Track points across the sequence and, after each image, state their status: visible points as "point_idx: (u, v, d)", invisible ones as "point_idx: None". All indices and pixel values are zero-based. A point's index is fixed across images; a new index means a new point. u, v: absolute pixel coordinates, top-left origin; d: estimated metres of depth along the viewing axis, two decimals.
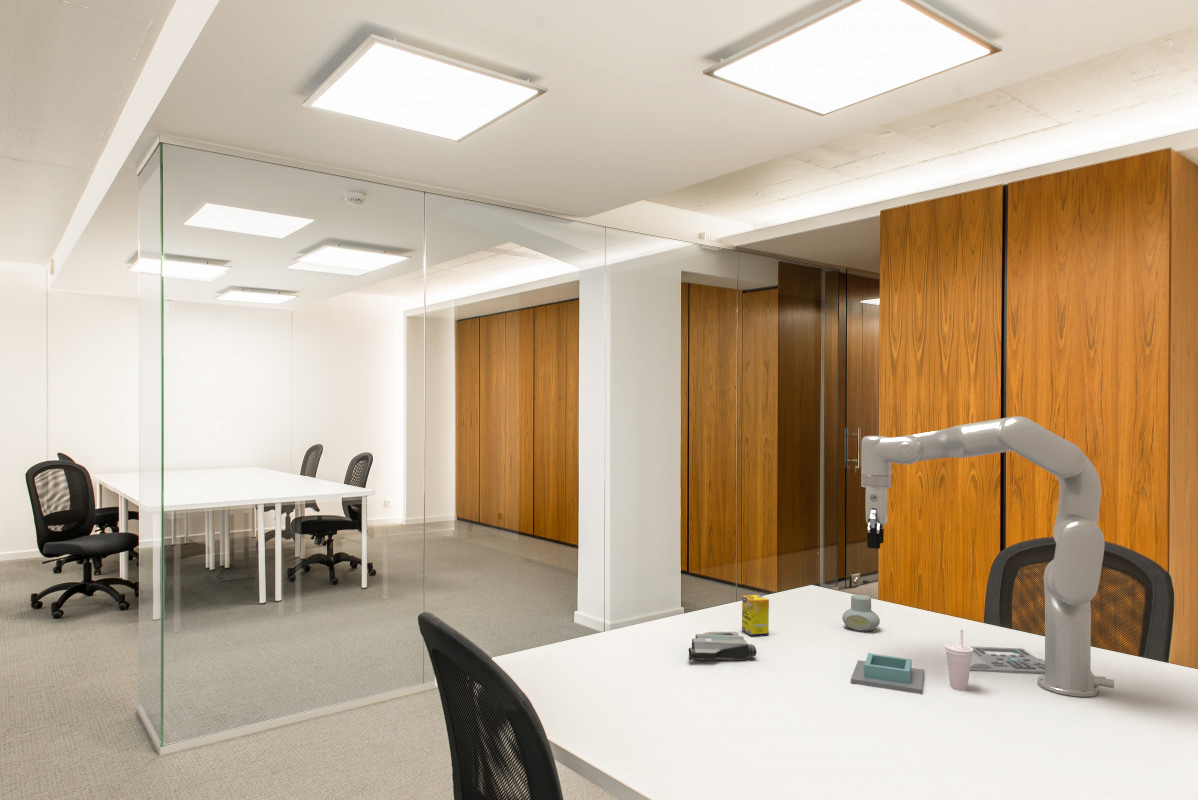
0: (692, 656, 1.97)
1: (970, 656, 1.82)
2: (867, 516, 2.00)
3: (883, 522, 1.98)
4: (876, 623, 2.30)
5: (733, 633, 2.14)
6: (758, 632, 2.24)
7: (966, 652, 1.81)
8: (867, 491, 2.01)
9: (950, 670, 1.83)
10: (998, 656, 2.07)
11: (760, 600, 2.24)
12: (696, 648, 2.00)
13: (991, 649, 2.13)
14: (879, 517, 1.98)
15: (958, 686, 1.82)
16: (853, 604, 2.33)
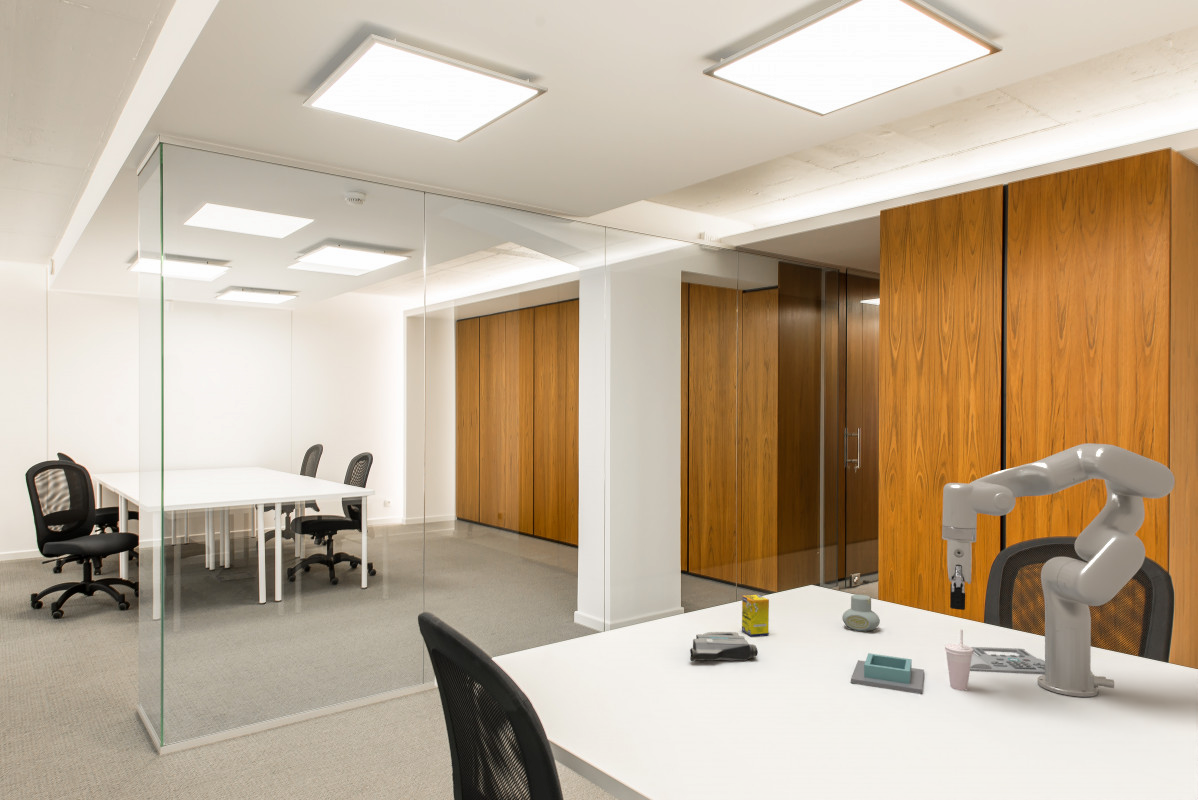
0: (694, 657, 1.97)
1: (970, 656, 1.82)
2: (950, 573, 1.81)
3: (969, 580, 1.79)
4: (876, 623, 2.30)
5: (733, 633, 2.14)
6: (758, 632, 2.24)
7: (966, 652, 1.81)
8: (951, 545, 1.81)
9: (950, 670, 1.83)
10: (998, 656, 2.07)
11: (760, 600, 2.24)
12: (698, 649, 1.99)
13: (991, 649, 2.13)
14: (964, 575, 1.79)
15: (958, 686, 1.82)
16: (853, 604, 2.33)
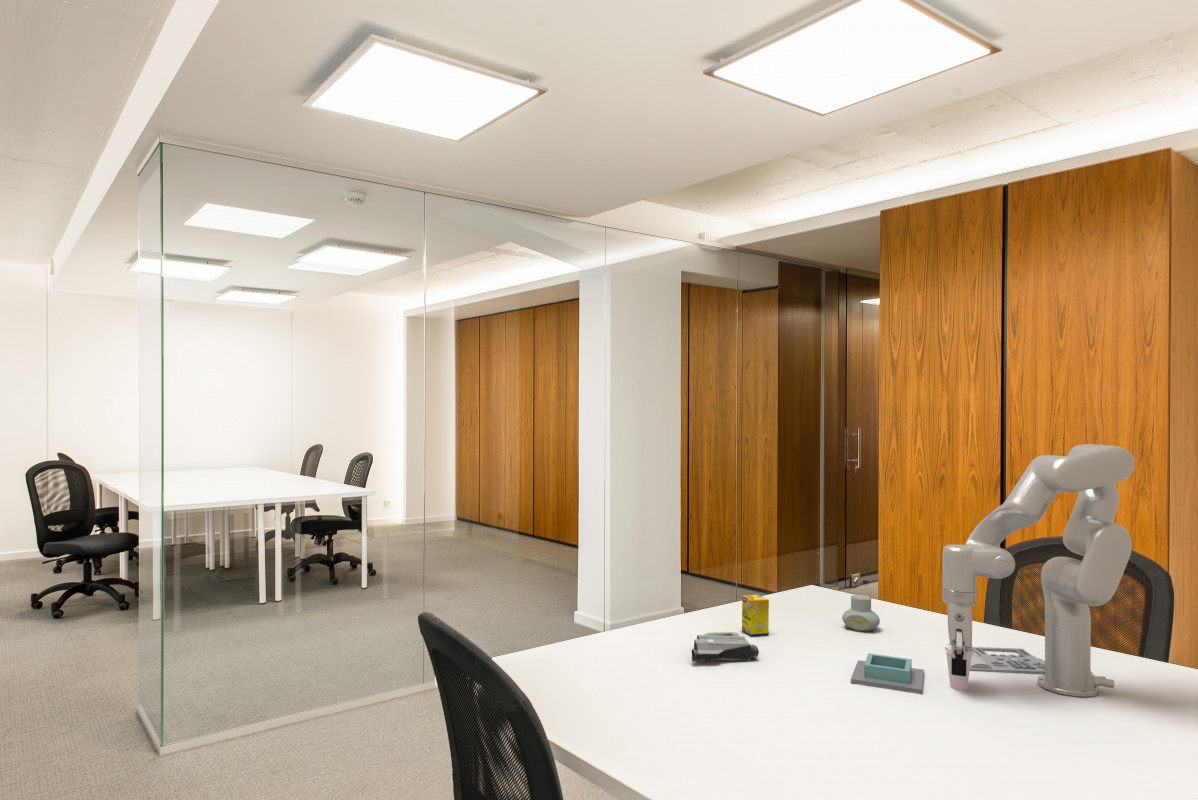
0: (695, 657, 1.96)
1: (970, 656, 1.82)
2: (951, 637, 1.80)
3: (970, 645, 1.79)
4: (876, 623, 2.30)
5: (733, 633, 2.14)
6: (758, 632, 2.24)
7: (966, 652, 1.81)
8: (951, 609, 1.81)
9: (950, 670, 1.83)
10: (998, 656, 2.07)
11: (760, 600, 2.24)
12: (699, 649, 1.99)
13: (991, 649, 2.13)
14: (965, 643, 1.79)
15: (958, 686, 1.82)
16: (853, 604, 2.33)
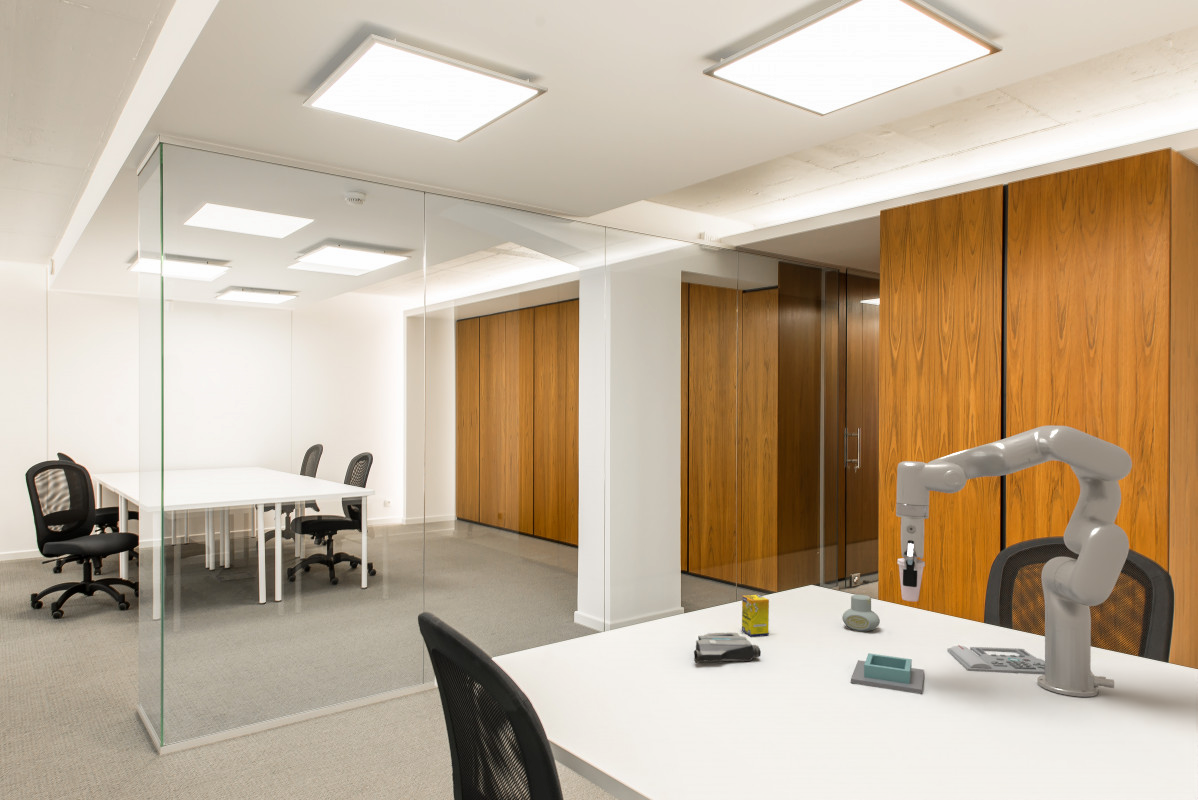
0: (698, 658, 1.95)
1: (921, 568, 1.86)
2: (903, 549, 1.84)
3: (921, 556, 1.83)
4: (876, 623, 2.30)
5: (734, 634, 2.14)
6: (758, 632, 2.24)
7: (917, 564, 1.85)
8: (903, 522, 1.85)
9: (902, 582, 1.88)
10: (998, 656, 2.07)
11: (760, 600, 2.24)
12: (702, 650, 1.98)
13: (991, 649, 2.13)
14: (916, 554, 1.83)
15: (909, 597, 1.86)
16: (853, 604, 2.33)
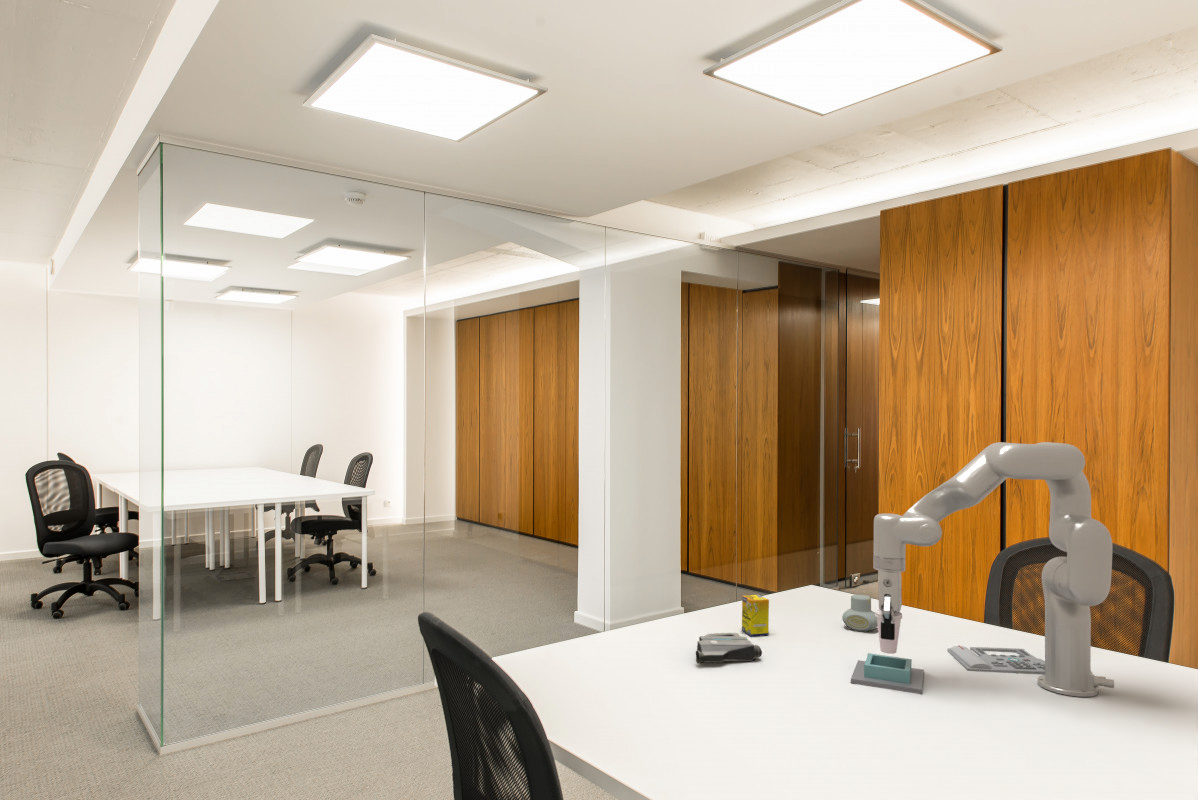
0: (700, 659, 1.95)
1: (899, 621, 1.88)
2: (880, 602, 1.86)
3: (897, 609, 1.85)
4: (876, 623, 2.30)
5: (734, 634, 2.13)
6: (758, 632, 2.24)
7: (894, 617, 1.87)
8: (880, 575, 1.87)
9: (880, 634, 1.89)
10: (998, 656, 2.07)
11: (760, 600, 2.24)
12: (703, 651, 1.98)
13: (991, 649, 2.13)
14: (893, 607, 1.85)
15: (887, 650, 1.88)
16: (853, 604, 2.33)
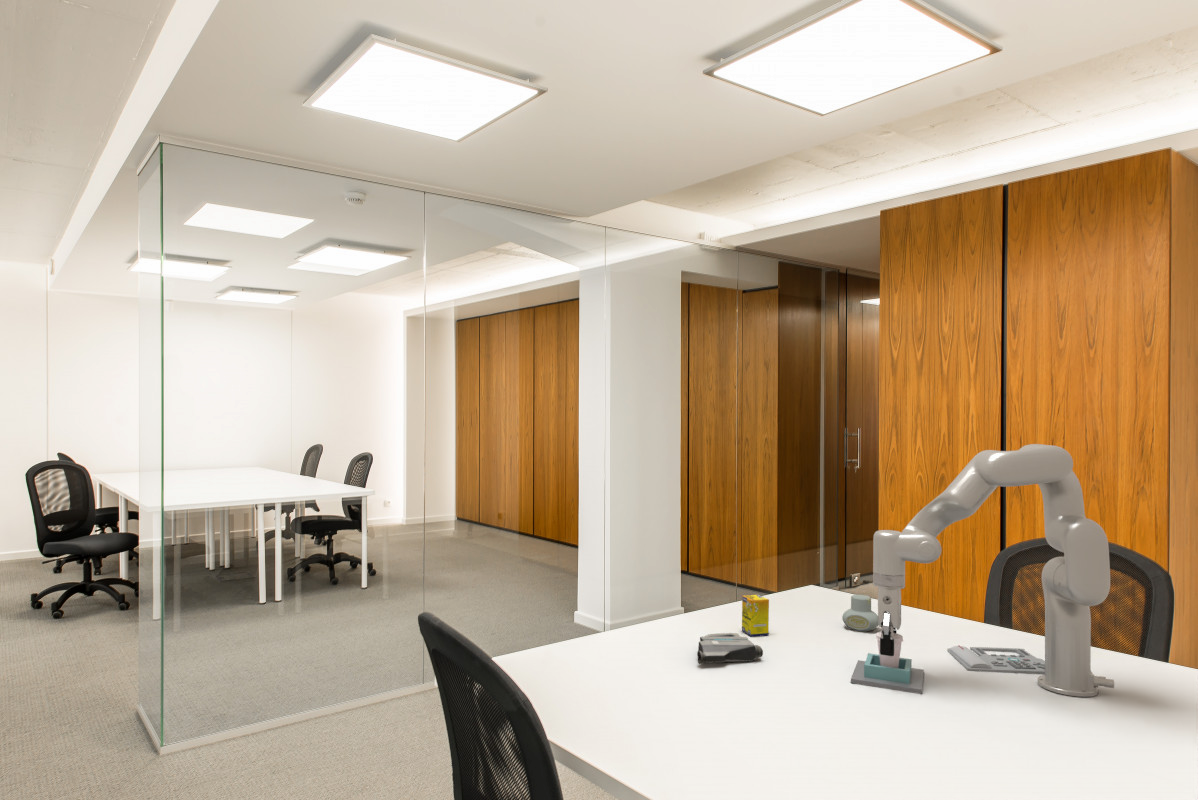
0: (702, 659, 1.94)
1: (899, 643, 1.87)
2: (880, 619, 1.86)
3: (897, 627, 1.84)
4: (876, 623, 2.30)
5: (734, 634, 2.13)
6: (758, 632, 2.24)
7: (895, 639, 1.87)
8: (880, 592, 1.87)
9: (881, 657, 1.89)
10: (998, 656, 2.07)
11: (760, 600, 2.24)
12: (705, 651, 1.97)
13: (991, 649, 2.13)
14: (893, 622, 1.85)
15: None
16: (853, 604, 2.33)
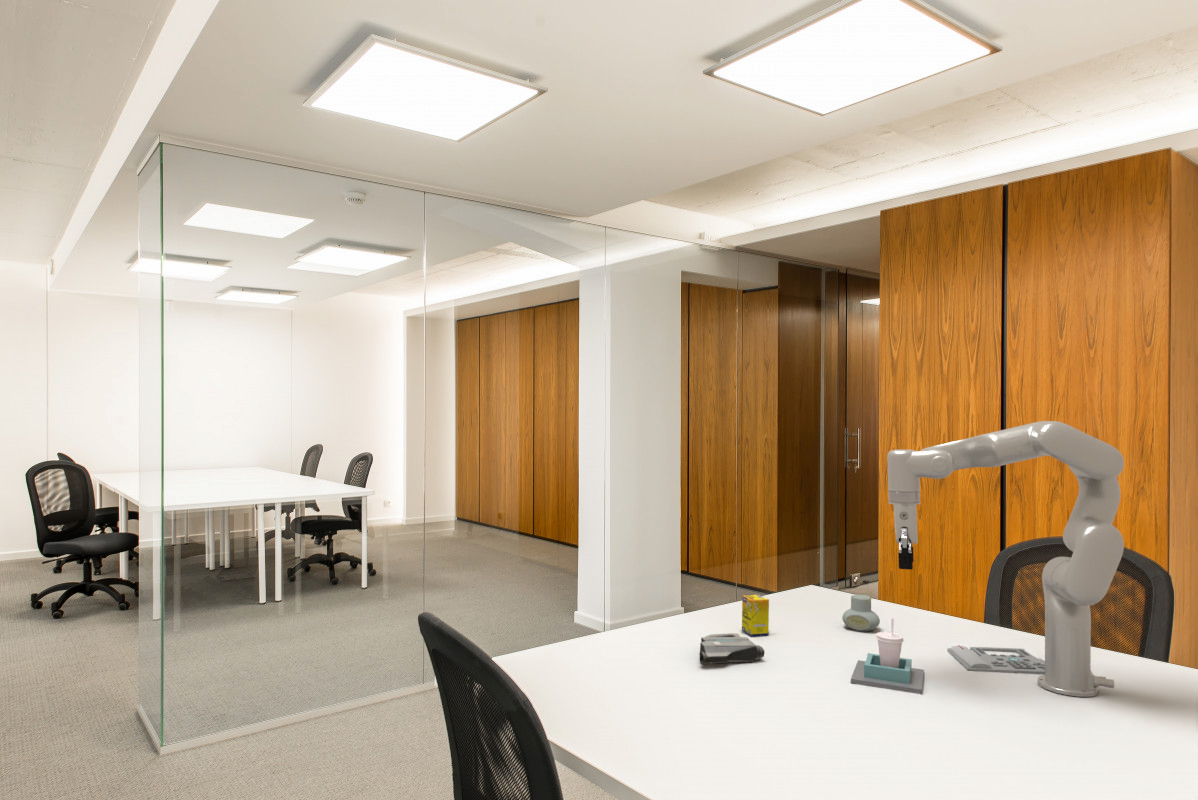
0: (705, 660, 1.94)
1: (900, 644, 1.87)
2: (897, 535, 1.89)
3: (915, 541, 1.87)
4: (876, 623, 2.30)
5: (734, 635, 2.13)
6: (758, 632, 2.24)
7: (896, 640, 1.87)
8: (896, 509, 1.90)
9: (881, 657, 1.89)
10: (998, 656, 2.07)
11: (760, 600, 2.24)
12: (707, 652, 1.97)
13: (991, 649, 2.13)
14: (910, 536, 1.88)
15: None
16: (853, 604, 2.33)
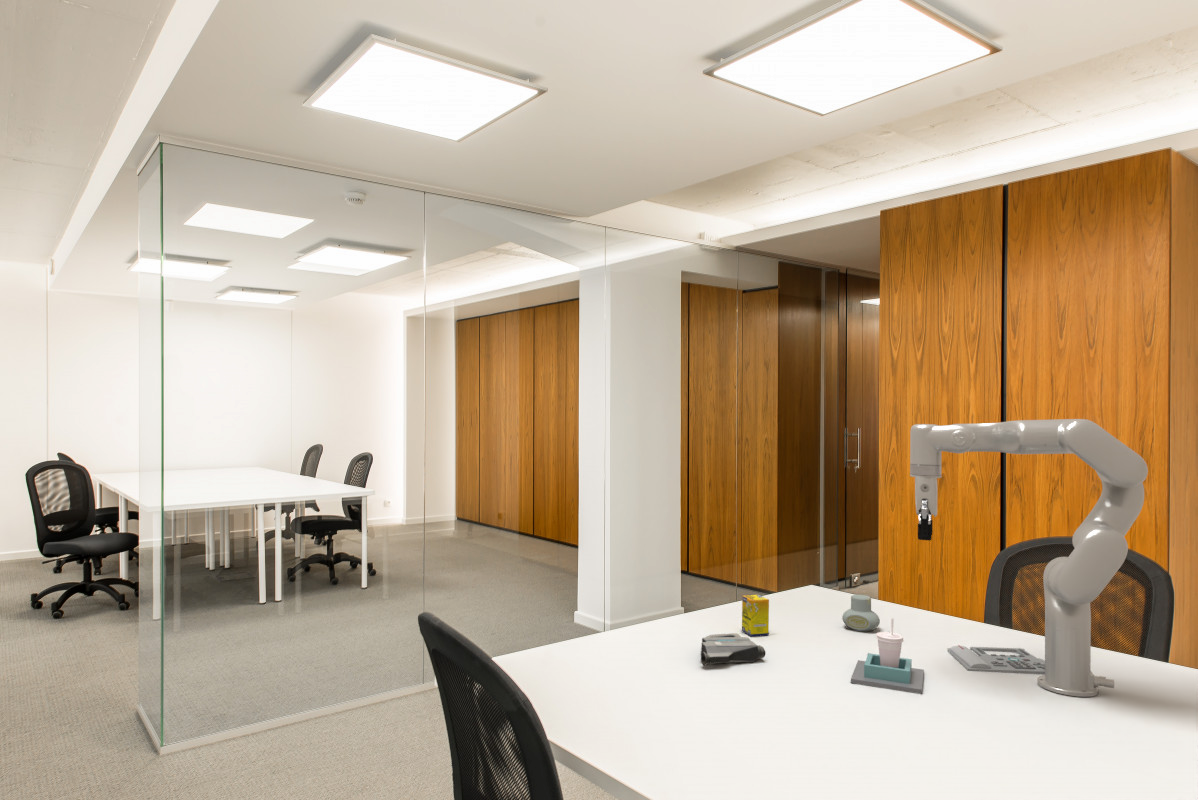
0: (707, 661, 1.93)
1: (900, 644, 1.87)
2: (917, 507, 1.93)
3: (934, 513, 1.92)
4: (876, 623, 2.30)
5: (735, 635, 2.13)
6: (758, 632, 2.24)
7: (896, 640, 1.87)
8: (917, 481, 1.94)
9: (881, 657, 1.89)
10: (998, 656, 2.07)
11: (760, 600, 2.24)
12: (709, 653, 1.96)
13: (991, 649, 2.13)
14: (930, 508, 1.92)
15: None
16: (853, 604, 2.33)
